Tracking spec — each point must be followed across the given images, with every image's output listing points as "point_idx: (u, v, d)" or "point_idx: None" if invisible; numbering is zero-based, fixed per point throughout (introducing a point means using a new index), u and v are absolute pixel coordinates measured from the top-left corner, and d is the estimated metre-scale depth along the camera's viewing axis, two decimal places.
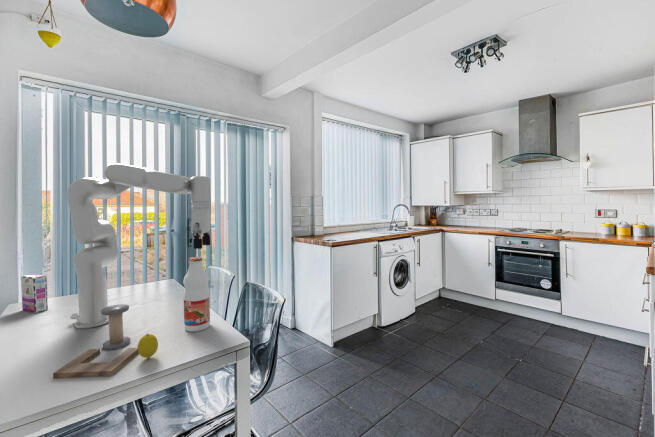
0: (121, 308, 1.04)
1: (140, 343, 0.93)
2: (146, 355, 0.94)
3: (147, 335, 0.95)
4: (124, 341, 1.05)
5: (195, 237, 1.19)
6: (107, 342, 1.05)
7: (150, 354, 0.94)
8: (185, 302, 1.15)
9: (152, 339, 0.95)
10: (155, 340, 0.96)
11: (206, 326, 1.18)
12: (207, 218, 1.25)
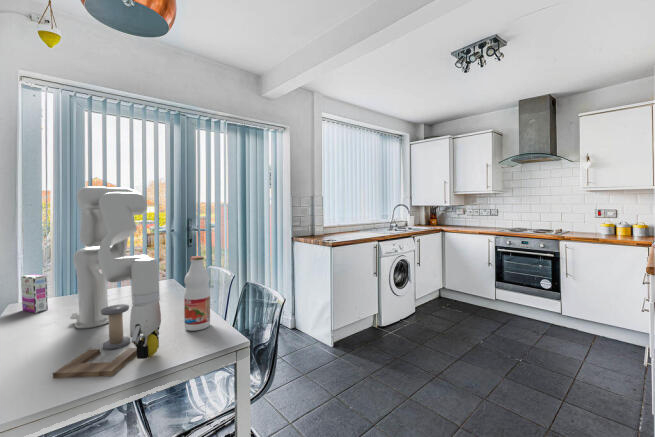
0: (121, 308, 1.04)
1: None
2: None
3: (148, 335, 0.95)
4: (124, 341, 1.05)
5: (138, 345, 0.91)
6: (107, 342, 1.05)
7: (151, 353, 0.94)
8: (185, 300, 1.16)
9: (153, 339, 0.95)
10: (156, 339, 0.96)
11: (206, 325, 1.18)
12: (154, 313, 0.95)
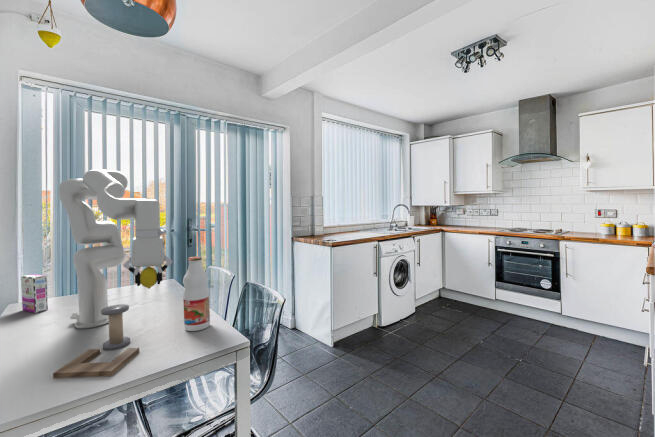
0: (121, 308, 1.04)
1: None
2: None
3: (147, 267, 1.07)
4: (124, 341, 1.05)
5: None
6: (107, 342, 1.05)
7: (142, 284, 1.05)
8: (184, 301, 1.16)
9: (145, 272, 1.05)
10: (148, 274, 1.05)
11: (205, 326, 1.18)
12: (146, 249, 1.04)
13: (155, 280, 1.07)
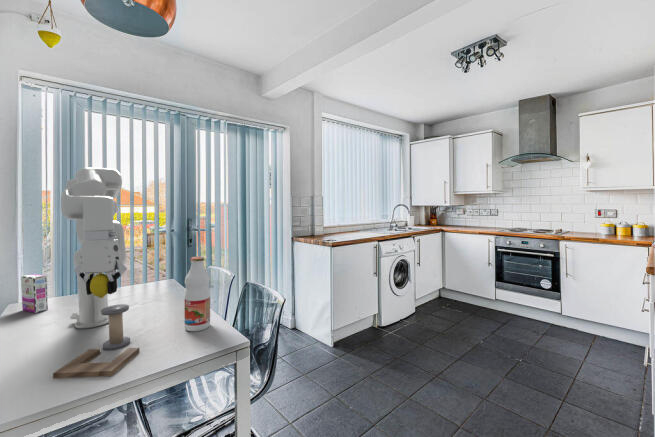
0: (121, 308, 1.04)
1: None
2: None
3: (98, 274, 0.93)
4: (124, 341, 1.05)
5: None
6: (107, 342, 1.05)
7: (92, 293, 0.92)
8: (185, 301, 1.16)
9: (93, 279, 0.92)
10: (95, 281, 0.91)
11: (205, 326, 1.17)
12: (93, 253, 0.91)
13: (105, 289, 0.92)
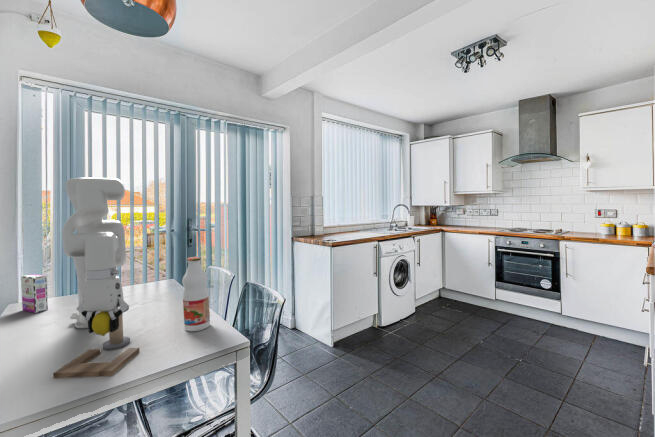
0: None
1: None
2: None
3: (100, 312, 0.94)
4: (124, 341, 1.05)
5: None
6: (107, 342, 1.05)
7: (94, 331, 0.93)
8: (184, 302, 1.16)
9: (95, 318, 0.92)
10: (97, 320, 0.92)
11: (205, 326, 1.17)
12: (95, 292, 0.91)
13: (107, 327, 0.93)
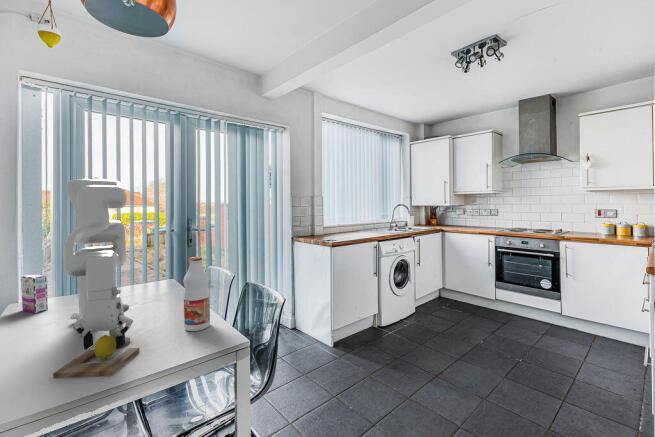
0: None
1: None
2: None
3: (102, 336, 0.94)
4: None
5: None
6: None
7: (96, 356, 0.93)
8: (184, 301, 1.16)
9: (98, 342, 0.93)
10: (99, 345, 0.92)
11: (205, 326, 1.17)
12: (96, 313, 0.92)
13: (109, 352, 0.94)
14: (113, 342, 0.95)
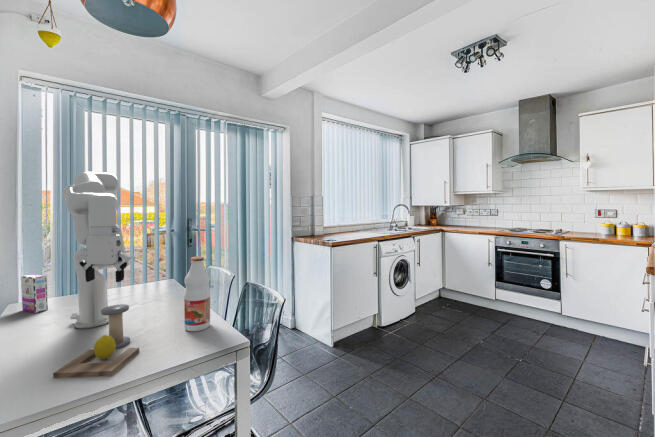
0: (121, 308, 1.04)
1: None
2: None
3: None
4: (124, 341, 1.05)
5: None
6: None
7: (96, 356, 0.93)
8: (185, 301, 1.16)
9: (97, 343, 0.93)
10: (99, 345, 0.92)
11: (205, 327, 1.17)
12: (98, 247, 0.99)
13: (109, 352, 0.93)
14: (113, 342, 0.95)
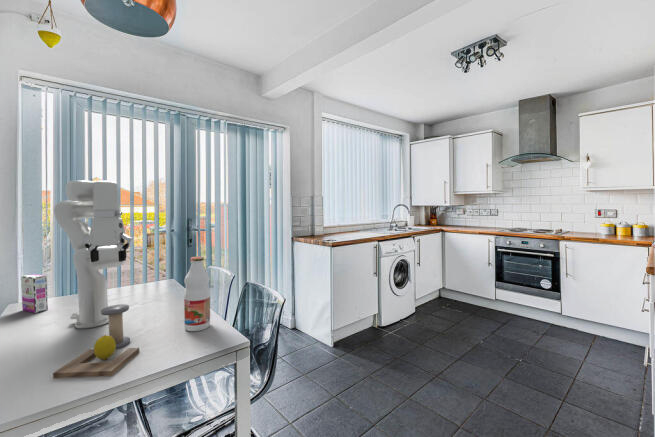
0: (121, 308, 1.04)
1: None
2: None
3: (102, 336, 0.94)
4: (124, 341, 1.05)
5: None
6: None
7: (96, 356, 0.93)
8: (185, 301, 1.16)
9: (97, 342, 0.93)
10: (99, 345, 0.92)
11: (205, 327, 1.17)
12: (102, 229, 1.07)
13: (108, 352, 0.93)
14: (113, 342, 0.95)
